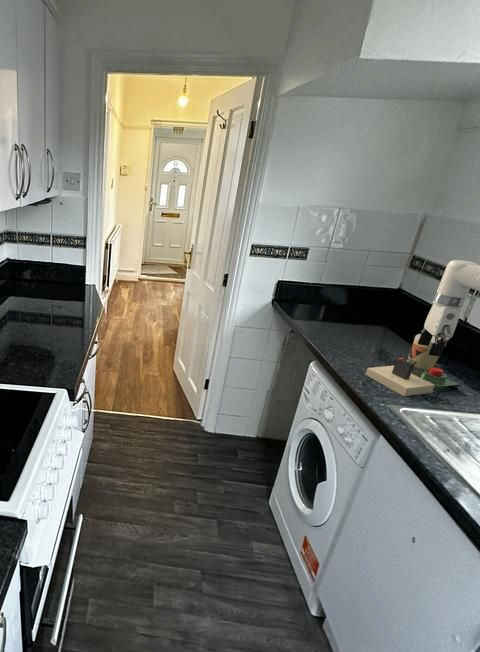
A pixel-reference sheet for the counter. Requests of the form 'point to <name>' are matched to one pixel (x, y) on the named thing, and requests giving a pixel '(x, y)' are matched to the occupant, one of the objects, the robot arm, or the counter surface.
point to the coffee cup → (422, 354)
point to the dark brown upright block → (403, 368)
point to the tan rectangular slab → (400, 381)
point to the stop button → (436, 371)
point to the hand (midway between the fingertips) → (428, 350)
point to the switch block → (436, 380)
